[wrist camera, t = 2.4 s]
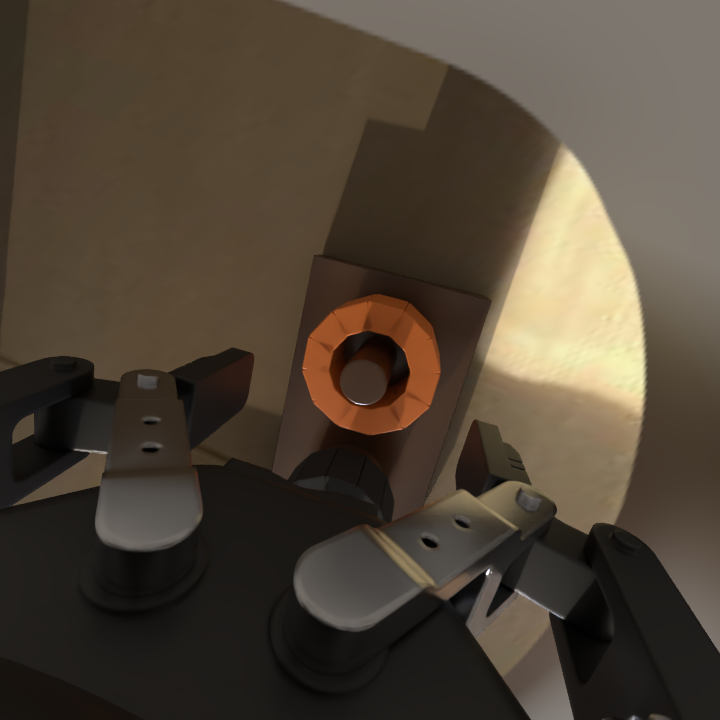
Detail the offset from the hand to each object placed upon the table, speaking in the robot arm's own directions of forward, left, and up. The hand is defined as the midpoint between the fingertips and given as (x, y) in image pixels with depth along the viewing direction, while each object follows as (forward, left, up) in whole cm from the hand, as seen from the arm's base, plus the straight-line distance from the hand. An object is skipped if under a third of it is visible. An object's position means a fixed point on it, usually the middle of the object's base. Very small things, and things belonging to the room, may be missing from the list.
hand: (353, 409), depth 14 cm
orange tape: (0, 0, -7) cm, 7 cm away
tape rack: (0, -4, -11) cm, 12 cm away
